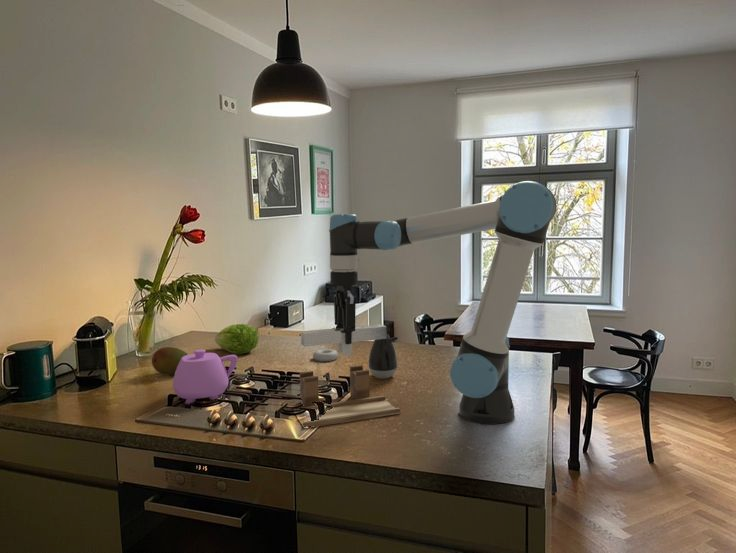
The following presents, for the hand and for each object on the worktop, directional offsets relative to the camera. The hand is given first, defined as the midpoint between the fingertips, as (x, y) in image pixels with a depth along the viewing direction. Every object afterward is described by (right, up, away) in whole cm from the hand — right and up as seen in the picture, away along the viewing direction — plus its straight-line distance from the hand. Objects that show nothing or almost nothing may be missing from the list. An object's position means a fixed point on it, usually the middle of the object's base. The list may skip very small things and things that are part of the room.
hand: (345, 353), depth 148 cm
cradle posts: (-4, -16, +12) cm, 21 cm away
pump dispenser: (+12, -14, +36) cm, 40 cm away
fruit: (-65, -14, +43) cm, 79 cm away
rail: (0, +3, 0) cm, 3 cm away
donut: (-10, -12, +61) cm, 63 cm away
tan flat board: (0, -17, +2) cm, 18 cm away
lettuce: (-50, -10, +74) cm, 90 cm away
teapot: (-45, -16, +20) cm, 52 cm away
